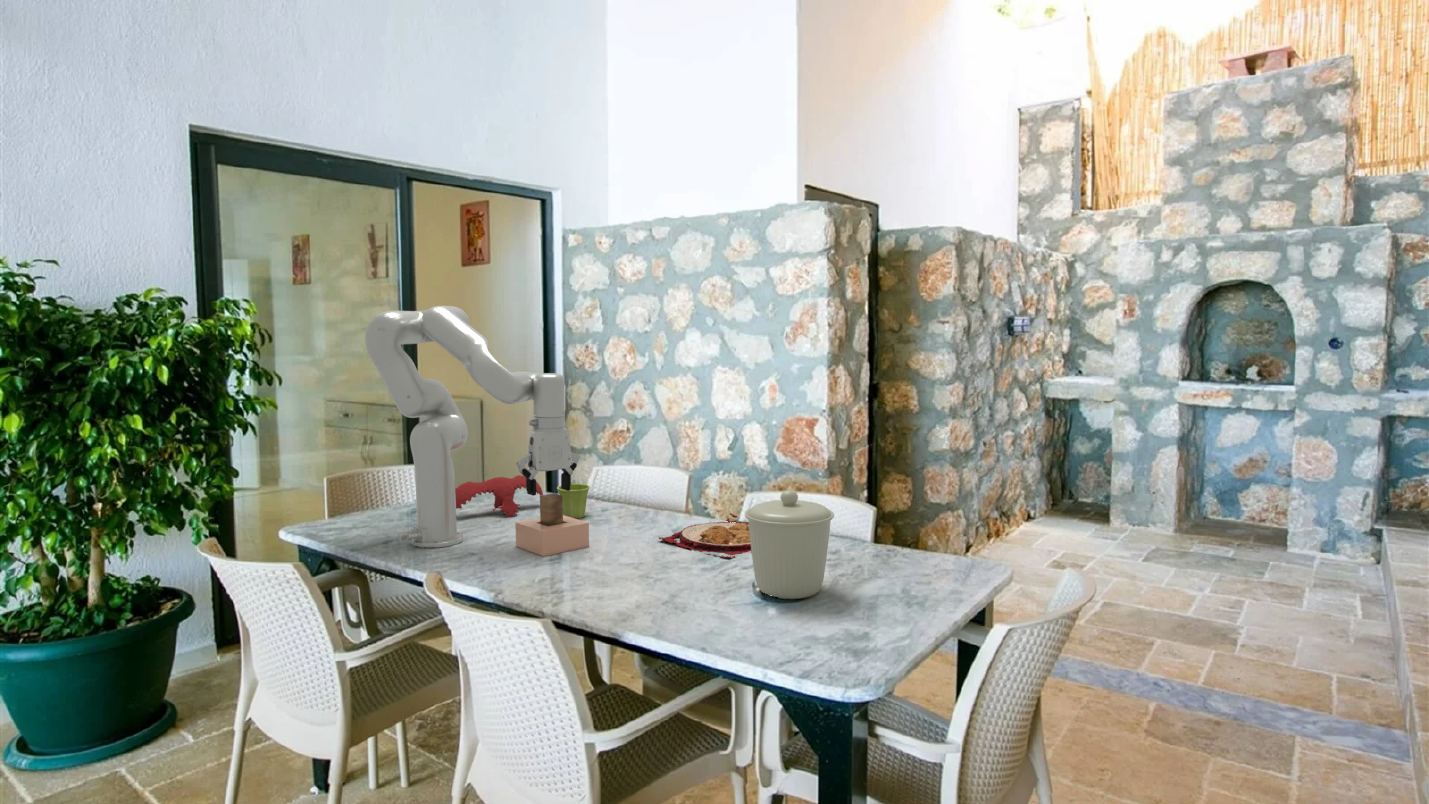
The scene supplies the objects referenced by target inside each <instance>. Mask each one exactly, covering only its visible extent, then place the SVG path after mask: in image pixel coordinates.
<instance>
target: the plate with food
mask: <svg viewBox="0 0 1429 804" xmlns="http://www.w3.org/2000/svg"><path fill="white" fill-rule="evenodd" d="M729 515H730V516H731V518H735V520H734V519H732V520H730V518H727V519H726V520H725V521H728V522H724V521H717V522H715V521H714V522H711V521H710V522H706V523H697V524H694V525H689V526H687V527H685V528H682V530H681V531H679V532H675V533H674V534H672V535H670V536H666V537H663V536H662V537H659V536H658V539H659V540H662V541H663V542H665V541H666V542H668V543H671V544H673V543H674V545H675V546H679V547H682V548H685V549H689V551H693V550H697V551H698V552H700V553H703V552H707V553H705V555H707V556H713V557H717V554H712V553H717V552H718V553H720V554H722V555H721V556H720V557H721V558H724V559H731V560H732V559H734V558H736V556H735V555H742V554H744V553H745V554H746V553H749V552H751V554H752V551H751V541H750V533H749V523H748V521H741V520H740V521H737V520H736V519H737V518H738V516H737V515H735V514H733V513H729ZM730 522H731V523H730ZM732 522H736V523H732ZM677 537H679V542H678V540H677ZM723 554H724V555H723ZM725 555H728V556H725Z"/></svg>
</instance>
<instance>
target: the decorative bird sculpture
mask: <svg viewBox="0 0 1429 804" xmlns="http://www.w3.org/2000/svg"><path fill="white" fill-rule="evenodd" d="M522 488H523V489H524V490H525V489H526V478H525V477H524V476H523V475H522V474H521V475H520V474H519V475H516V476H514V477H512V478H510V477H504V476H499V477H493V478H490V479H487V480H484V481H481V482H480V481H478V482H475V481H466V482H463V483H462V484H460V485H458V486H457V487H455V495H456V510H457V509H460V510H461V509H463V507H462V505H467V501H468V502H471V501H472V498H476V497H477V495H479V496H482V493H483V494H484V495H486V494H487V493H488V494H491V493H492V495H493V496H494V503H493V507H494V508H492V509H491V511H493V513H495V510H496V509H499V510H500V513H501V512H503V515H504V514H505V517H509V516H510V517H511V518H513V516H517V513H518V512H519V511H518V510H520V509H521V507H520V506H521V504H518V503H516V502H514V499H515V498H514V497H515V493H516V490H518V489H519V490H522ZM538 494H539V496H540V495H544V492H543V489H542V487H541V485H540V484H539V483H538V482H537V481H536V495H538Z"/></svg>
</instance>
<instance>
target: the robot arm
mask: <svg viewBox="0 0 1429 804" xmlns="http://www.w3.org/2000/svg"><path fill="white" fill-rule="evenodd" d="M425 343H436V344H437V345H439V346H440V347H441V348H442V349H444V351H446V352H447V353H448V354H450V355H451V356H452V357H453V358H455V359H456V360H457V361H458V362H460V363H461V364H462V365H463V366H464V367H465V370H466V371H467V373H468V374H469V375H470V377H471V378H472V380H473V381H474V382H475V383H476V385H478V386H479V387H480V388H482V389H483V390H484V391H485V392H486V393H487V394H488V395H490V396H492V397H493V398H494V399H496V400H497V401H499V402H500V403H502V404H505V405H515V404H518V403H524V402H530V401H532V406H533V407H532V409H533V411H532V413H533V415H532V419H530V420H529V421H528V424H529V426H530V427H532V429H531V430H530V432H529V438H528V444H527V445H528V447H527V454H526V455H524V456H523V457H522V458H520V459H518V460H517V462H516V466H517V468H518V470H519V473H520V474H521V476H524V477H525V478H526V490H525V491H526V492H527V493H526V494H527V495H530V496H536V495H537V492H536V482H537V479H535V477H536V475H537V474H538V472H549V471H558V470H561V472H562V473H561V475H560V486H561V489H563V490H567V491H570V486H571V484H572V481H571V480H572V475H573V474H574V471H575V469H576V468H577V467H578V463H579V460H580V458H581V456H580V455H579V454H577V453H574V452H573V451H572V448H571V441H570V434H569V430H568V428H566V427H565V378H564V375H563V374H561V373H557V372H556V373H555V372H552V373H551V372H548V373H547V372H546V373H545V372H542V373H536V372H531V371H527V370H526V371H525V370H524V371H521V370H520V371H514V372H513V371H512V372H511V371H510V370H508V369H507V368H506V367H505V366H503V365H502V364H501V363H499V361H497V360H496V359H495V358H494V357H493V355H492V354H491V353H490V351H489V341H488V339H487V338H486V336H484V335H482V334H481V333H480V332H479V331H477V330H476V329H475V328H474V327H472V326H471V322H470V318H469V316H468V314H467V313H466V312H465V311H464V310H463V309H462V308H459V307H458V306H454V305H453V306H452V305H436V306H435V305H434V306H432V307H430V308H428V309H425V310H386V311H383V312H380V313H378V314H377V315H375V316H374V317H373V318H372V319H370V321H369V323H368V325H367V327H366V331H365V336H364V344H365V348H366V349H365V350H366V351H367V354H368V356H369V358H370V361H372V363H373V365H374V367H375V369H376V370H377V371H378V373H379V376H380V377H381V379H382V381H383V383H384V385H385V387H386V389H387V391H388V394H390V397H391V398H392V400H393V402H394V404H395V406H396V407H397V409H398V411H399V412H400V413H401V414H402V416H404V417H406V418H411V419H415V418H420V417H421V418H422V417H423V419H424V420H421V421H420V422H418V423H417V424H416V425H415V426H414V427H413V429H412V431H411V433H410V436H409V444H410V451H411V454H412V459H413V465H414V467H413V468H414V481H415V502H416V503H415V504H416V525H415V524H414V525H413V526H412V527H413V528H411V529H409V531H406V530H403V531H399V532H398V533H397V539H398V540H399V541H401V540H402V541H403V540H407V541H410V540H411V542H410V543H411V545H412V544H413V545H412V546H414V545H415V546H414V547H416V546H419V547H418V548H424V547H434V548H444V547H451V546H453V545H457V544H460V543H461V542H463V541H464V535H463V533H460V532H458V530H457V529H458V527H457V526H458V525H457V524H458V523H457V509H456V495H455V489H456V478H455V477H456V476H455V467H454V463H453V459H452V456H451V452H454V451H456V450H459V449H461V448H462V447H463V446H464V445H465V444H466V443H467V440H468V436H469V430H468V426H467V423H466V421H465V419H464V417H463V415H462V413H461V411H460V410H459V407H458V406H457V404H456V402H455V400H454V398H453V396H452V395H451V393H450V391H449V390H448V388H447V387H446V386H445V385H444V384H443V383H442V382H441V381H439V380H437V379H434V378H423V377H422V375H421V374H420V372H419V371H418V369H417V367H416V365H415V363H414V361H413V359H412V358H411V357H410V356H409V354H408V353H407V352H406V351H405V350H404V349H403V347H402V345H415V344H417V345H418V344H425ZM526 464H527V466H528V469H527V468H526Z"/></svg>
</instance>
